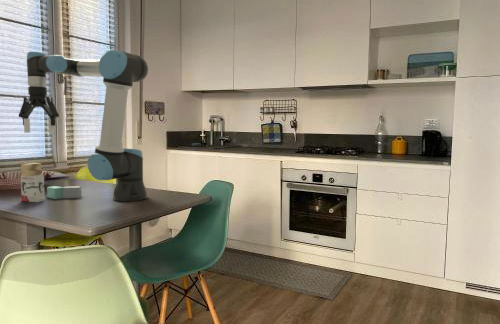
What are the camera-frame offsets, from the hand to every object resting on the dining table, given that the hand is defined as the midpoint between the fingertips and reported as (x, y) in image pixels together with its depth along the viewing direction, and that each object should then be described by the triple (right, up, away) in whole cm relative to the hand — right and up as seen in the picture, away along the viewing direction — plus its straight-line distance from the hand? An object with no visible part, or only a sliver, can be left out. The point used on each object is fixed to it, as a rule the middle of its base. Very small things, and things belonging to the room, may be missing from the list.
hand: (39, 132), depth 186 cm
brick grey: (+15, -30, +2) cm, 34 cm away
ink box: (+1, -31, -8) cm, 32 cm away
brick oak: (+1, -19, -9) cm, 21 cm away
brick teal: (+7, -30, +1) cm, 31 cm away
